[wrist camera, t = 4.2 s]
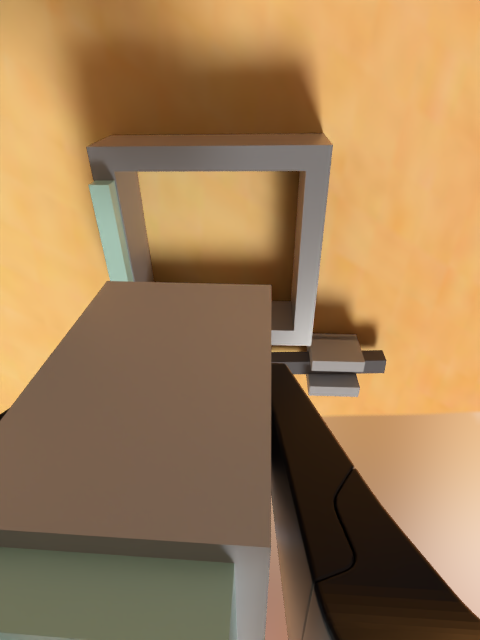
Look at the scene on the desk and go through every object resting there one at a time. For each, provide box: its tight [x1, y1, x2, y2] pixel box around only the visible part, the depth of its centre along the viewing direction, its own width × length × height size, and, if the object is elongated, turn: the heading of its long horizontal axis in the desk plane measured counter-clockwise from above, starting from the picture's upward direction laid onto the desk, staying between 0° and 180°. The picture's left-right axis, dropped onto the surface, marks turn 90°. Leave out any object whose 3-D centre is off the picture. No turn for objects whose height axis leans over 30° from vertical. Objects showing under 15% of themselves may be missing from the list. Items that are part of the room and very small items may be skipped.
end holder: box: [86, 133, 333, 346], centre depth 16 cm, size 8×8×3 cm
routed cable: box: [271, 333, 386, 397], centre depth 20 cm, size 11×2×2 cm, turn 91°
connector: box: [0, 281, 271, 640], centre depth 8 cm, size 4×4×7 cm
